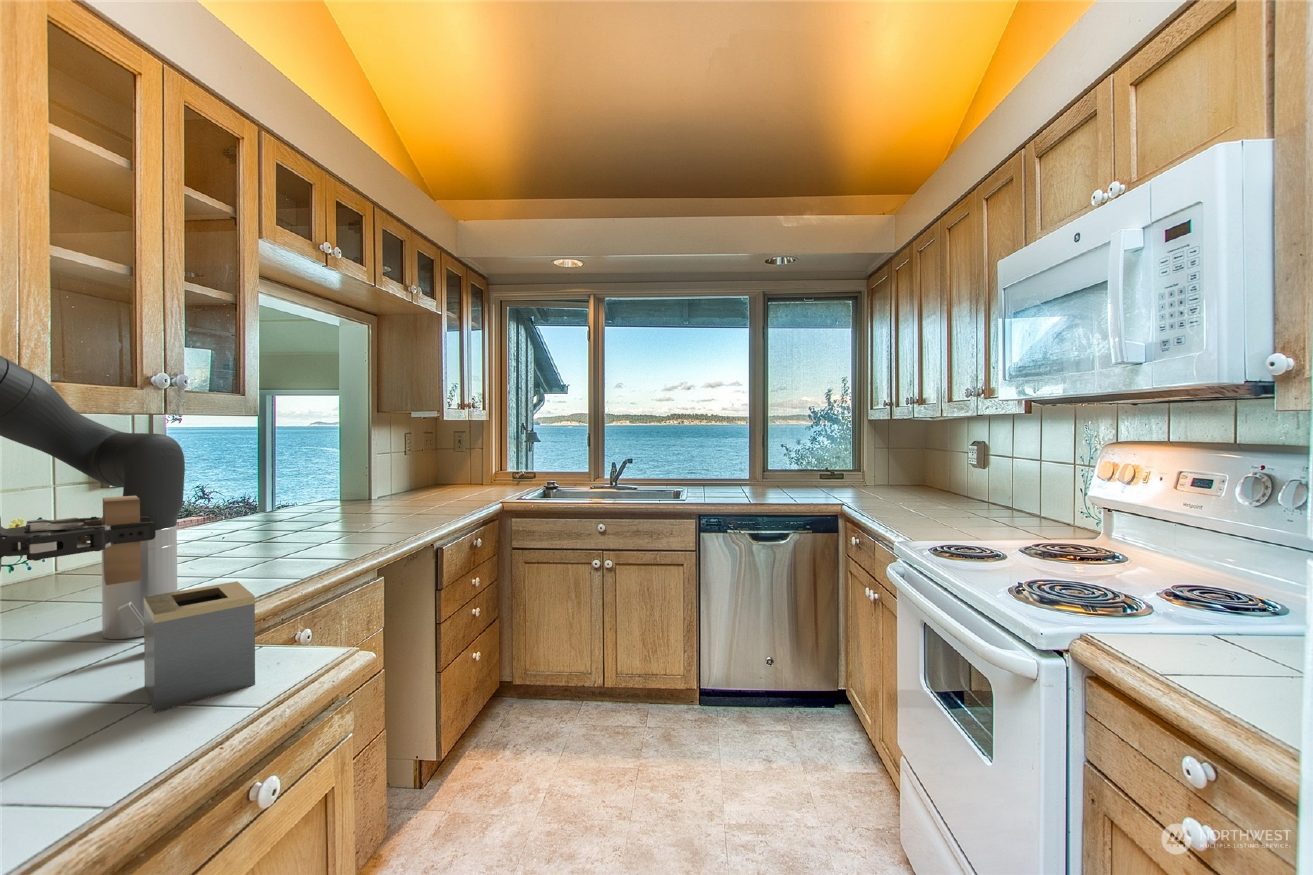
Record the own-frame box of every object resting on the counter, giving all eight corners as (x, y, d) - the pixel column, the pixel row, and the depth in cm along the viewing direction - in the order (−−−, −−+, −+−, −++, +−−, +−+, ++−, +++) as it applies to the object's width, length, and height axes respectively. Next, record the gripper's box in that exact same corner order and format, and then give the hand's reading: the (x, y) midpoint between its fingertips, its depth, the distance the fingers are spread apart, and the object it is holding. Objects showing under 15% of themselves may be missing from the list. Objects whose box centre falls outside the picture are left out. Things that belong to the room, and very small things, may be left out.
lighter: (182, 644, 86) (182, 594, 86) (181, 648, 84) (181, 597, 84) (120, 655, 82) (119, 602, 81) (117, 659, 80) (117, 605, 80)
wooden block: (103, 577, 67) (102, 497, 67) (137, 573, 69) (136, 495, 69) (106, 585, 64) (104, 501, 64) (140, 580, 66) (139, 499, 66)
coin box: (144, 685, 72) (143, 596, 72) (237, 662, 80) (237, 581, 79) (154, 713, 66) (153, 615, 65) (255, 684, 73) (254, 596, 73)
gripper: (-84, 522, 51) (160, 504, 64) (-63, 506, 61) (145, 492, 73) (-83, 601, 51) (160, 567, 64) (-62, 572, 61) (146, 547, 74)
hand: (151, 527), depth 69 cm, fingers closed on wooden block, 4 cm apart
